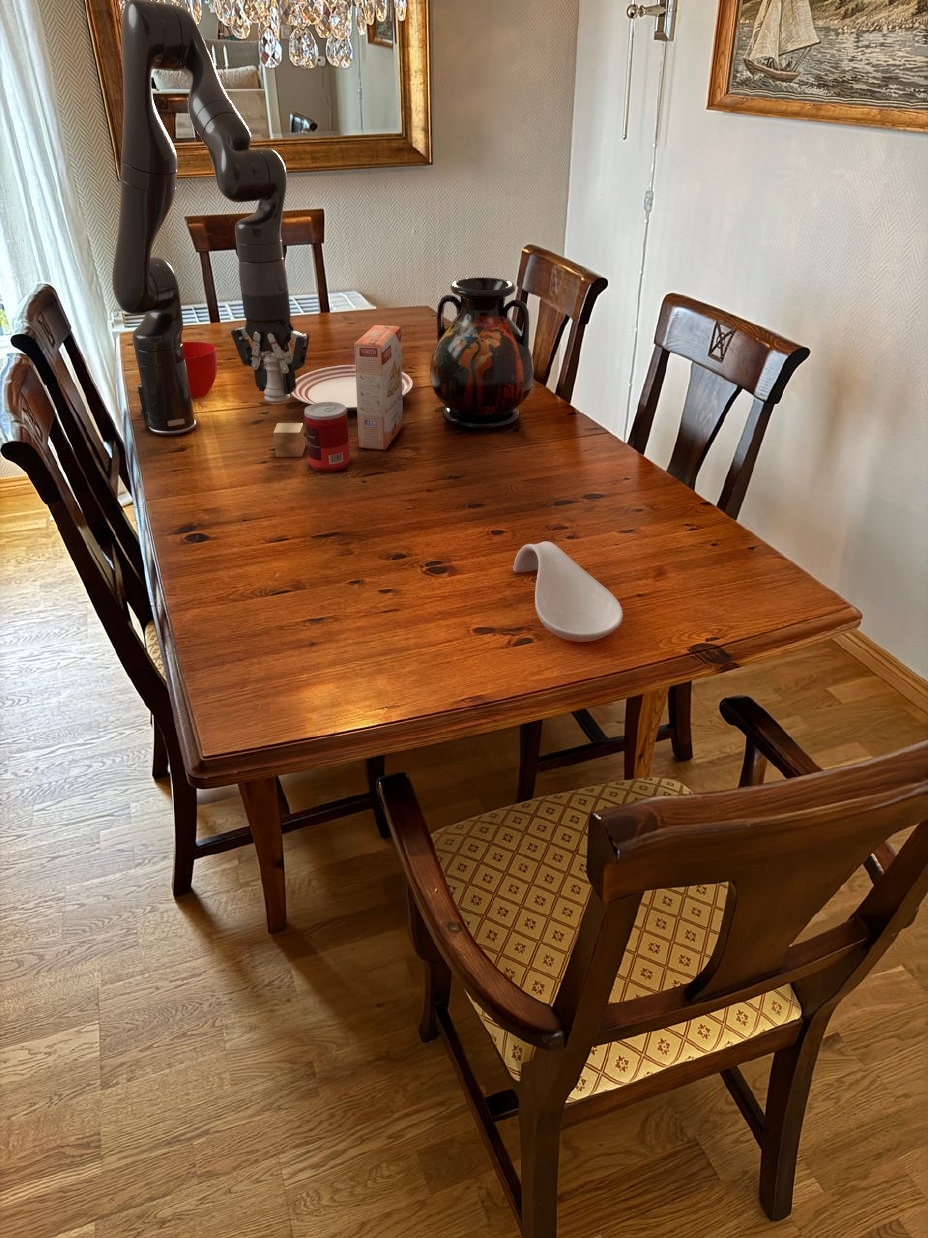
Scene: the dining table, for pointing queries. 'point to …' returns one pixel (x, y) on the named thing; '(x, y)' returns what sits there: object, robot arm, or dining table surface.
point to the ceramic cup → (200, 366)
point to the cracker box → (379, 386)
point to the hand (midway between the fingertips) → (276, 390)
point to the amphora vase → (482, 357)
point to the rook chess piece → (274, 380)
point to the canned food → (327, 436)
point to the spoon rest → (568, 595)
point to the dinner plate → (334, 386)
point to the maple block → (289, 439)
